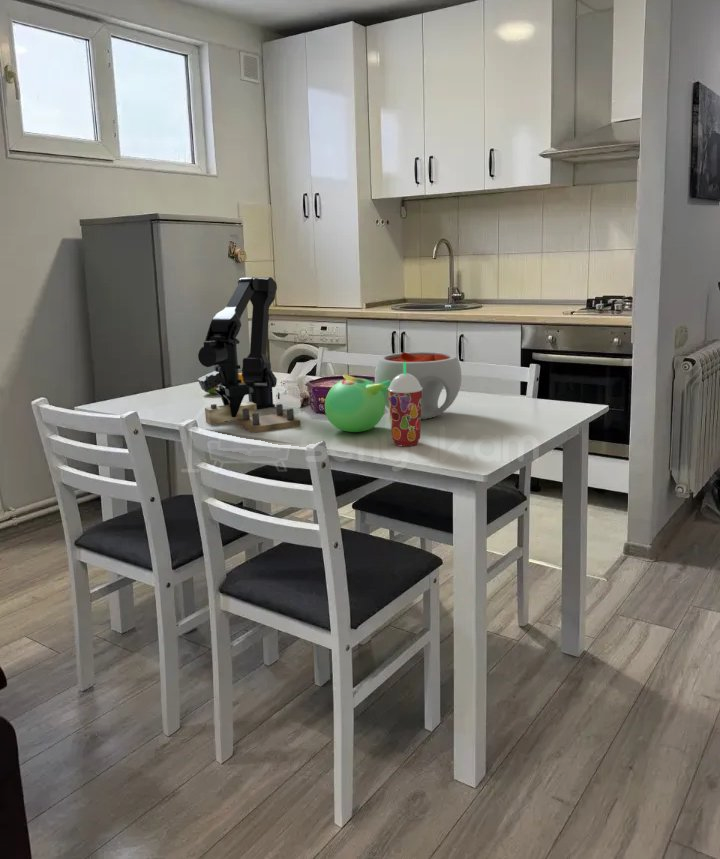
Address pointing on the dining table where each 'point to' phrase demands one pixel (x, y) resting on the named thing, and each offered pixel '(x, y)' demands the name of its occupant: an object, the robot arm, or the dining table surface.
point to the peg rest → (268, 420)
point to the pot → (424, 376)
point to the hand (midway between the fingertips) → (231, 415)
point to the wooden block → (227, 412)
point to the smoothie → (405, 408)
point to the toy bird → (356, 404)
